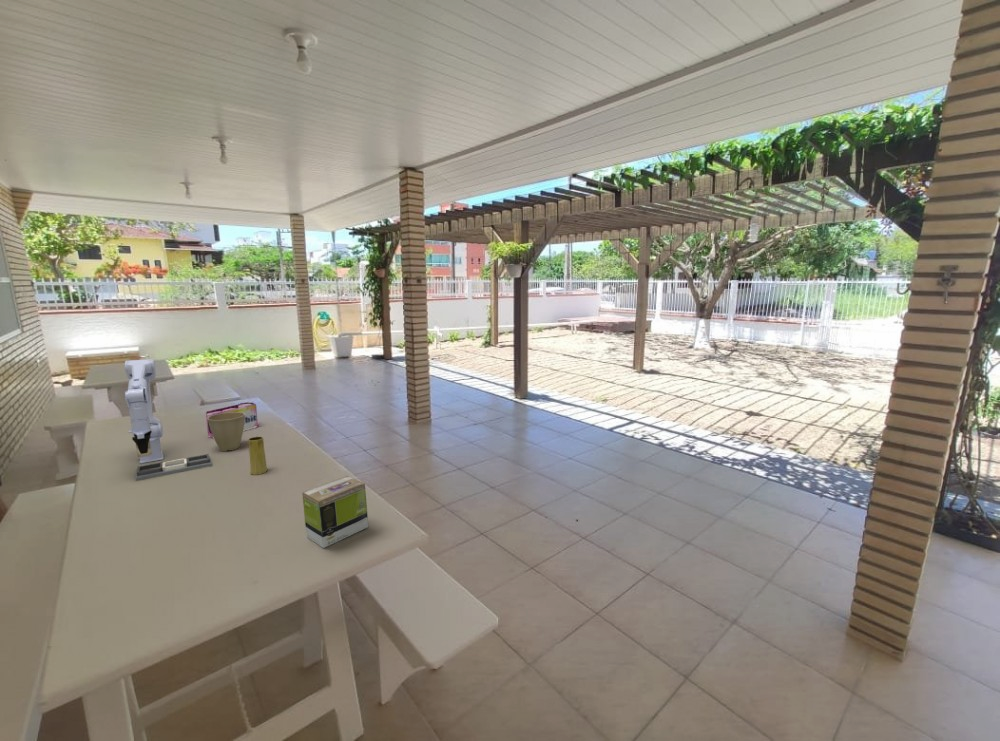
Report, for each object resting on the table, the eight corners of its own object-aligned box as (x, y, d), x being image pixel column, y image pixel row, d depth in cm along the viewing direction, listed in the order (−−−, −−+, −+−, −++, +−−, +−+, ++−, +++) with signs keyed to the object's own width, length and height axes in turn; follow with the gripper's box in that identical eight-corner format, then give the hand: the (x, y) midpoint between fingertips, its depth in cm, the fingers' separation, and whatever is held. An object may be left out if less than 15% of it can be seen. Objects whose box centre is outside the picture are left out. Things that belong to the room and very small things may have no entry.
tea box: (350, 518, 140) (348, 474, 138) (369, 528, 134) (366, 482, 131) (305, 537, 128) (301, 490, 126) (322, 549, 122) (319, 500, 120)
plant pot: (235, 454, 197) (232, 420, 195) (203, 454, 198) (199, 420, 195) (254, 443, 212) (251, 411, 210) (224, 443, 212) (221, 411, 210)
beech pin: (138, 454, 175) (135, 440, 174) (152, 452, 177) (149, 438, 176) (137, 457, 171) (134, 443, 170) (151, 455, 174) (149, 440, 173)
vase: (259, 475, 174) (256, 441, 171) (246, 474, 175) (243, 440, 172) (270, 469, 179) (267, 436, 177) (257, 468, 181) (254, 435, 178)
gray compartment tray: (137, 471, 177) (136, 465, 177) (210, 458, 192) (209, 452, 192) (135, 480, 169) (134, 474, 168) (212, 465, 184) (211, 460, 183)
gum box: (214, 440, 217) (211, 414, 215) (205, 438, 221) (201, 412, 218) (258, 427, 239) (256, 403, 236) (249, 425, 242) (246, 402, 240)
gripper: (128, 416, 175) (132, 448, 178) (124, 424, 164) (130, 458, 166) (150, 413, 179) (154, 445, 182) (148, 421, 168) (153, 454, 170)
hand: (144, 451), depth 174 cm, fingers closed on beech pin, 4 cm apart
